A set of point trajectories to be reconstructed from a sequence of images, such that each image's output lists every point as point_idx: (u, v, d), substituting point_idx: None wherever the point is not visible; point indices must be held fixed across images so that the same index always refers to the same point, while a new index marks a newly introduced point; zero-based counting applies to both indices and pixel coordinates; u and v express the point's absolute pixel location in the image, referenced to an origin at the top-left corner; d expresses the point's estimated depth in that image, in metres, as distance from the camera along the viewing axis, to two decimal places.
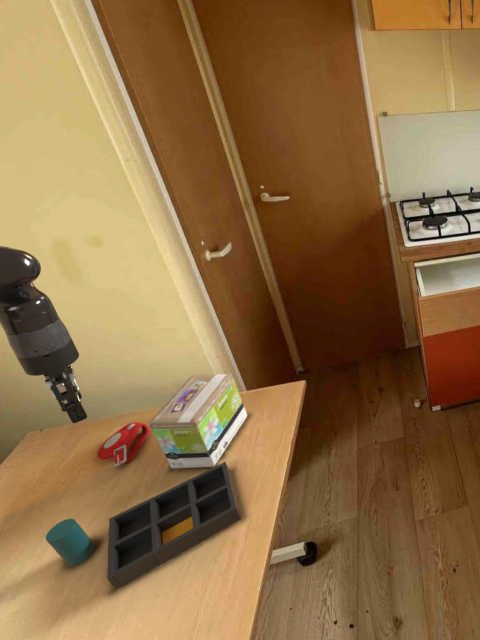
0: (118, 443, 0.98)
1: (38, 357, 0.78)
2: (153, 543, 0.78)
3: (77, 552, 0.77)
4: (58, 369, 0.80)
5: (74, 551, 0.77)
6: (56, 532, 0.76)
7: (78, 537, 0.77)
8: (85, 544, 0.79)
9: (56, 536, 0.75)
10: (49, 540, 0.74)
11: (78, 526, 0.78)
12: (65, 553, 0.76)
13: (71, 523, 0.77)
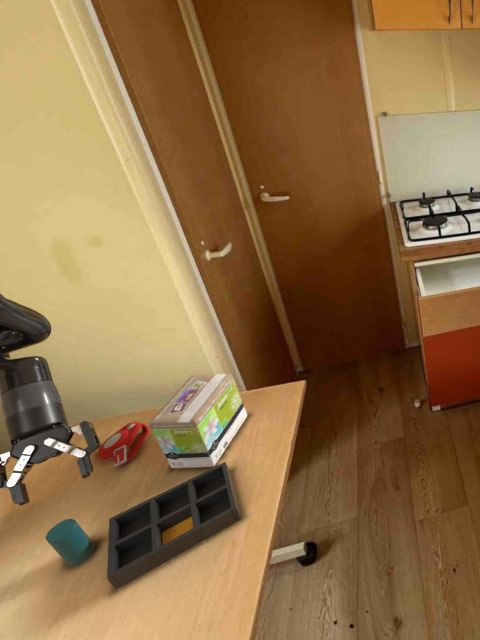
0: (118, 443, 0.98)
1: (57, 403, 0.83)
2: (153, 543, 0.78)
3: (77, 552, 0.77)
4: (66, 421, 0.84)
5: (74, 551, 0.77)
6: (56, 532, 0.76)
7: (78, 537, 0.77)
8: (85, 544, 0.79)
9: (56, 536, 0.75)
10: (49, 540, 0.74)
11: (78, 526, 0.78)
12: (65, 553, 0.76)
13: (71, 523, 0.77)
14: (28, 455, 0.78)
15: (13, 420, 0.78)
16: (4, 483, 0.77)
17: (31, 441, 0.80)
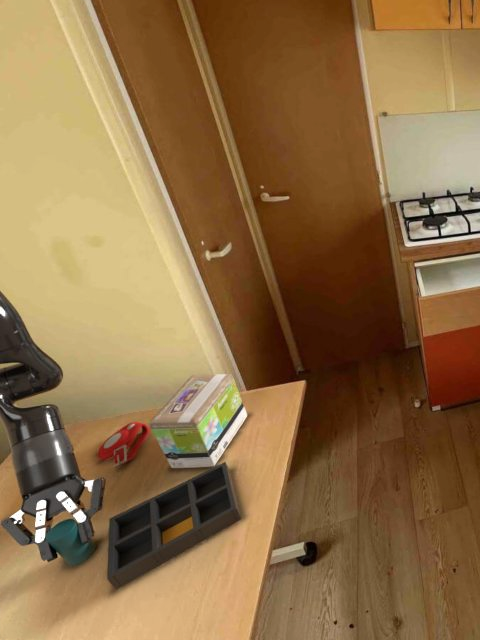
0: (118, 443, 0.98)
1: (70, 454, 0.80)
2: (153, 543, 0.78)
3: (77, 552, 0.77)
4: (79, 471, 0.81)
5: (74, 551, 0.77)
6: (56, 532, 0.76)
7: (78, 537, 0.77)
8: (85, 544, 0.79)
9: (56, 536, 0.75)
10: (49, 540, 0.74)
11: None
12: (65, 553, 0.76)
13: (71, 523, 0.77)
14: (40, 510, 0.76)
15: (24, 474, 0.75)
16: (32, 539, 0.75)
17: (43, 495, 0.77)
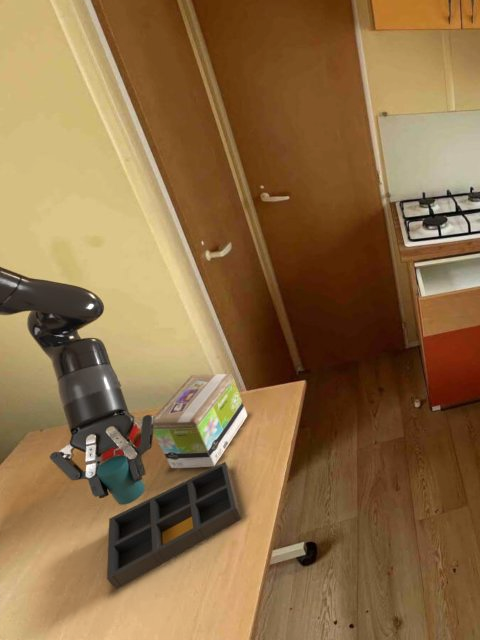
0: None
1: (118, 389, 0.76)
2: (153, 543, 0.78)
3: (128, 489, 0.73)
4: (127, 408, 0.77)
5: (126, 488, 0.73)
6: (107, 468, 0.72)
7: (129, 474, 0.73)
8: (136, 483, 0.74)
9: (107, 471, 0.71)
10: (100, 475, 0.70)
11: None
12: (116, 490, 0.72)
13: (122, 459, 0.73)
14: (90, 445, 0.71)
15: (73, 406, 0.71)
16: (83, 474, 0.71)
17: (92, 430, 0.73)
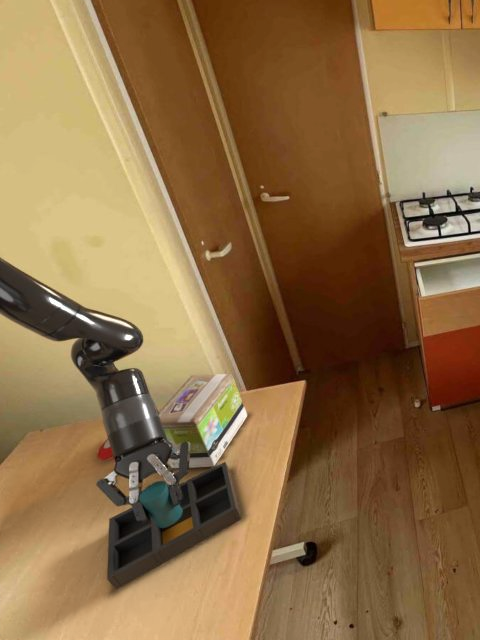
0: None
1: (157, 417, 0.80)
2: (153, 543, 0.78)
3: (168, 514, 0.77)
4: (165, 435, 0.81)
5: (166, 512, 0.77)
6: (149, 494, 0.76)
7: (169, 499, 0.77)
8: (174, 507, 0.79)
9: (149, 497, 0.75)
10: (143, 501, 0.74)
11: None
12: (157, 515, 0.76)
13: (162, 485, 0.77)
14: (133, 472, 0.76)
15: (117, 436, 0.75)
16: (126, 500, 0.75)
17: (134, 457, 0.77)
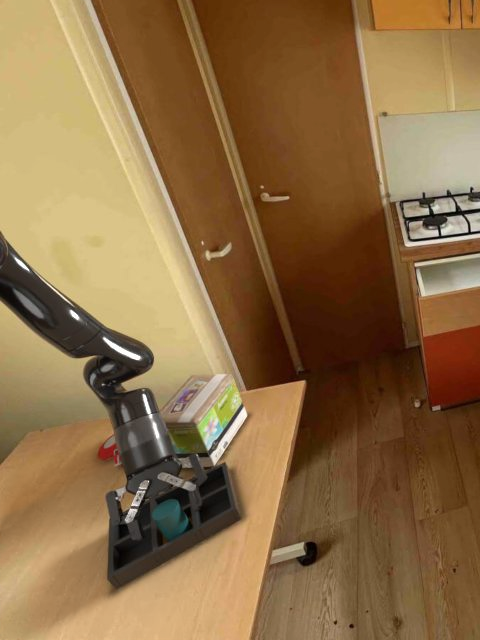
0: None
1: (167, 436, 0.83)
2: (153, 543, 0.78)
3: (179, 531, 0.80)
4: None
5: (177, 530, 0.80)
6: (161, 511, 0.78)
7: (180, 516, 0.80)
8: (185, 524, 0.81)
9: (162, 515, 0.78)
10: (156, 519, 0.77)
11: (180, 506, 0.80)
12: (169, 532, 0.79)
13: (174, 503, 0.80)
14: (144, 490, 0.78)
15: (129, 455, 0.78)
16: (122, 519, 0.76)
17: (145, 475, 0.79)
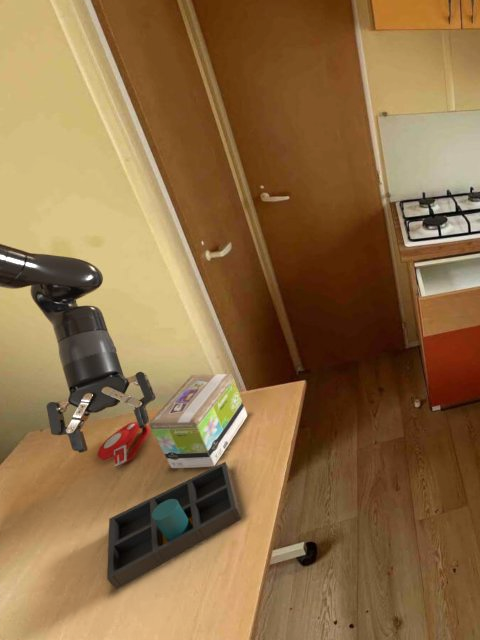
0: (118, 443, 0.98)
1: (113, 353, 0.82)
2: (153, 543, 0.78)
3: (179, 531, 0.80)
4: None
5: (177, 530, 0.80)
6: (161, 511, 0.78)
7: (180, 516, 0.80)
8: (185, 524, 0.81)
9: (162, 515, 0.78)
10: (156, 519, 0.77)
11: (180, 506, 0.80)
12: (169, 532, 0.79)
13: (174, 503, 0.80)
14: (87, 402, 0.77)
15: (72, 367, 0.77)
16: (63, 429, 0.75)
17: (89, 389, 0.79)
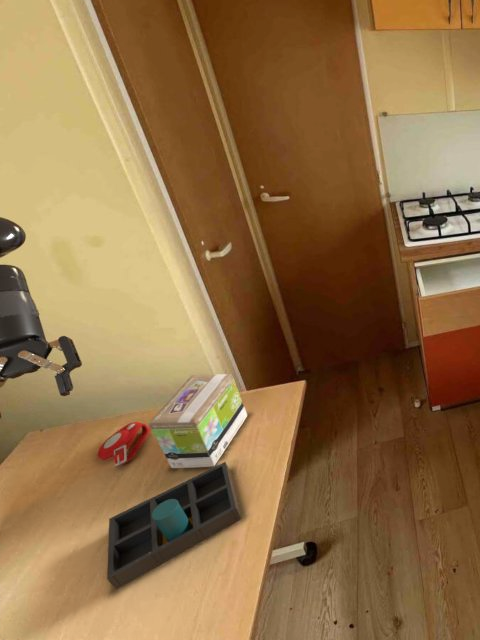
0: (118, 443, 0.98)
1: (34, 316, 0.76)
2: (153, 543, 0.78)
3: (179, 531, 0.80)
4: (44, 335, 0.77)
5: (177, 530, 0.80)
6: (161, 511, 0.78)
7: (180, 516, 0.80)
8: (185, 524, 0.81)
9: (162, 515, 0.78)
10: (156, 519, 0.77)
11: (180, 506, 0.80)
12: (169, 532, 0.79)
13: (174, 503, 0.80)
14: (0, 367, 0.71)
15: None
16: None
17: (4, 353, 0.73)
